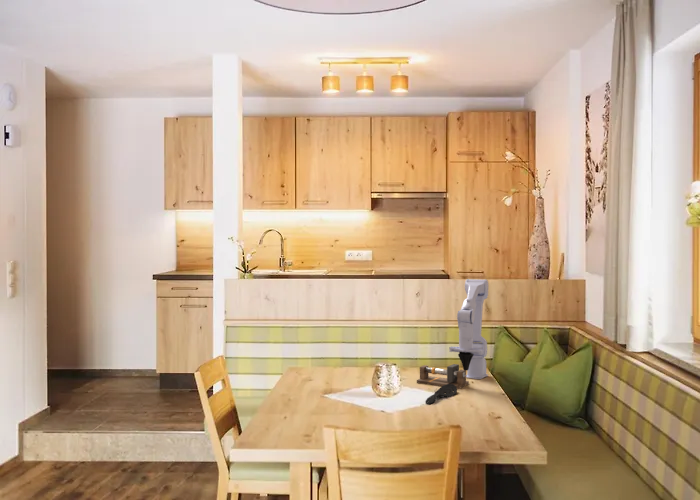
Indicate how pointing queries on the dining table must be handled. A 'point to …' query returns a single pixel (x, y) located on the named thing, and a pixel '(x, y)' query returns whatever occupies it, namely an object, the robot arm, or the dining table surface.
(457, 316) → the robot arm
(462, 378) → the pipe stand
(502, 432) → the dining table surface
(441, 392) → the hairbrush
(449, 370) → the collar
